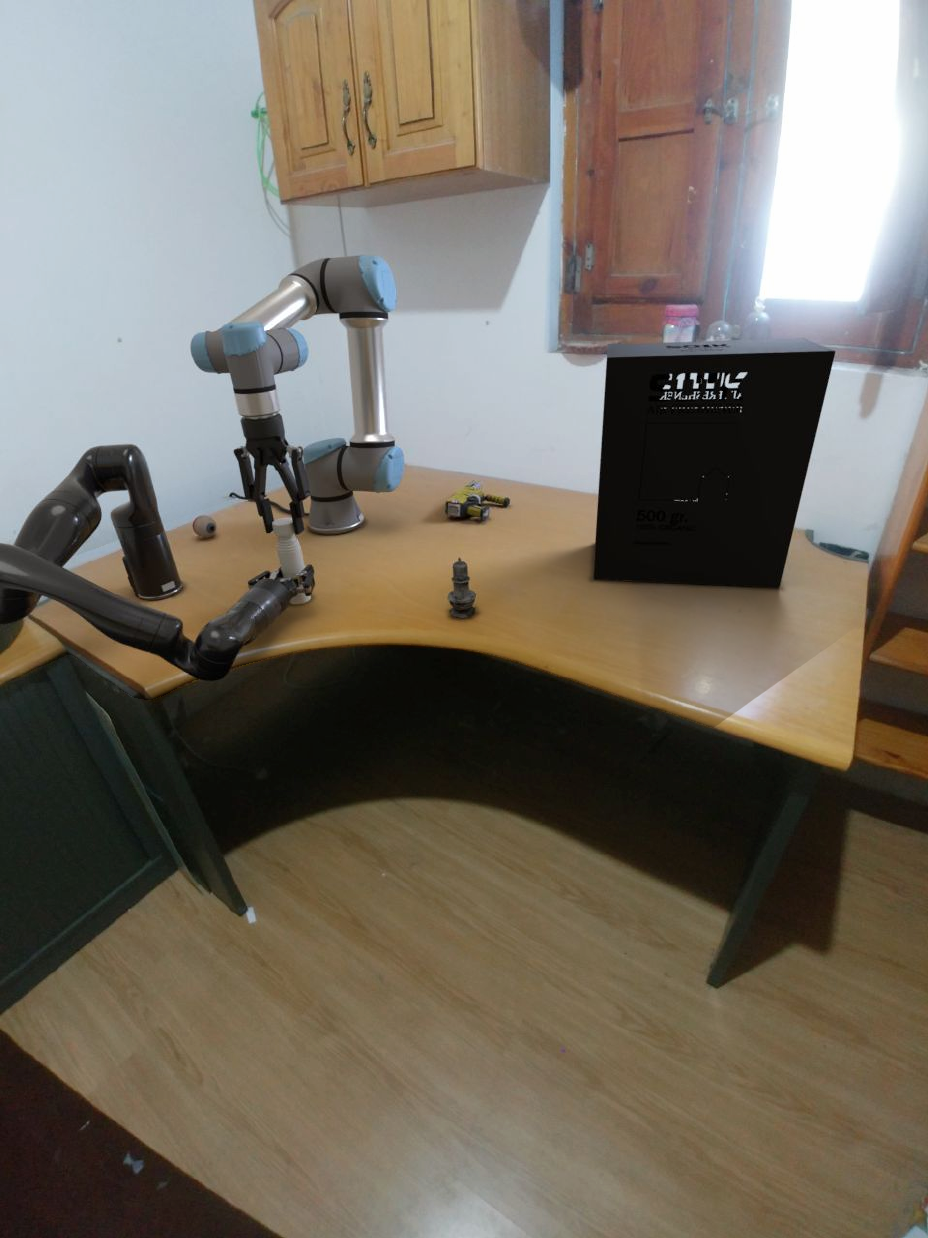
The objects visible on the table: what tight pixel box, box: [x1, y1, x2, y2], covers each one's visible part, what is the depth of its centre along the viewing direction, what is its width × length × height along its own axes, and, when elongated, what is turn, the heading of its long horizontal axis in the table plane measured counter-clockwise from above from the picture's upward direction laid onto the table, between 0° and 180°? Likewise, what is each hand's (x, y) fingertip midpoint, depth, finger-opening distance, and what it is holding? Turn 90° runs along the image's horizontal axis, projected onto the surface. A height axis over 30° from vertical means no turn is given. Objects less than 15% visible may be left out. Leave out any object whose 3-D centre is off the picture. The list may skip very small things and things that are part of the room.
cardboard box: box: [592, 337, 836, 589], centre depth 125 cm, size 38×20×45 cm, turn 78°
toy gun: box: [444, 480, 511, 521], centre depth 175 cm, size 5×24×15 cm
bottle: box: [276, 533, 312, 605], centre depth 127 cm, size 5×5×17 cm
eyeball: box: [192, 514, 217, 538], centre depth 165 cm, size 6×6×6 cm
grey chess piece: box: [446, 556, 477, 619], centre depth 120 cm, size 6×6×12 cm
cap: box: [272, 517, 295, 537], centre depth 123 cm, size 4×4×2 cm
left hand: (299, 567), depth 130 cm, fingers closed on bottle, 4 cm apart
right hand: (285, 531), depth 123 cm, fingers open, 6 cm apart
